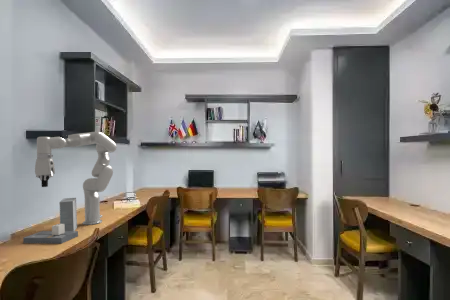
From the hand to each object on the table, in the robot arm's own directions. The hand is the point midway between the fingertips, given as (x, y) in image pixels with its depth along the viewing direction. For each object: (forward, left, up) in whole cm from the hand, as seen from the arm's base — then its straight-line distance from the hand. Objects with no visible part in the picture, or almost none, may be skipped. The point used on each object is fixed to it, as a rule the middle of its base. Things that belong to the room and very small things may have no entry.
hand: (44, 186), depth 175 cm
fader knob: (+10, +16, -26) cm, 32 cm away
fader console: (+10, +12, -29) cm, 33 cm away
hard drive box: (-9, +9, -29) cm, 32 cm away
